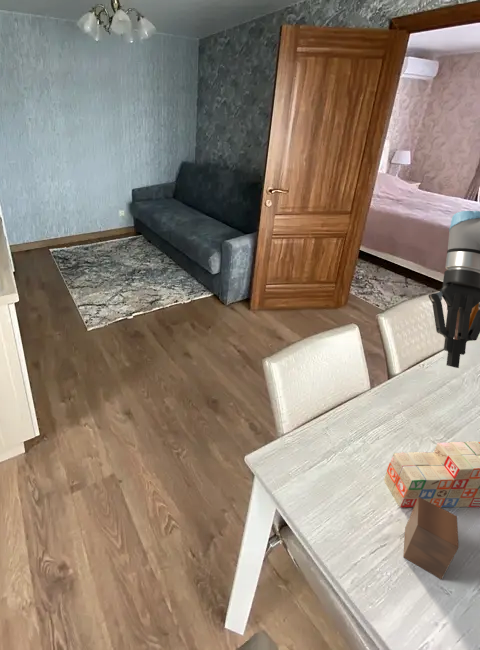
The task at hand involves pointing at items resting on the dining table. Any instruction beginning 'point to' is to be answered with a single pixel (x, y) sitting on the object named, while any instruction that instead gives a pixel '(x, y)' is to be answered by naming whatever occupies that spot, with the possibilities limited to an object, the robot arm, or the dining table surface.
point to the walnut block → (431, 537)
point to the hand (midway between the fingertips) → (452, 366)
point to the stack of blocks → (437, 475)
